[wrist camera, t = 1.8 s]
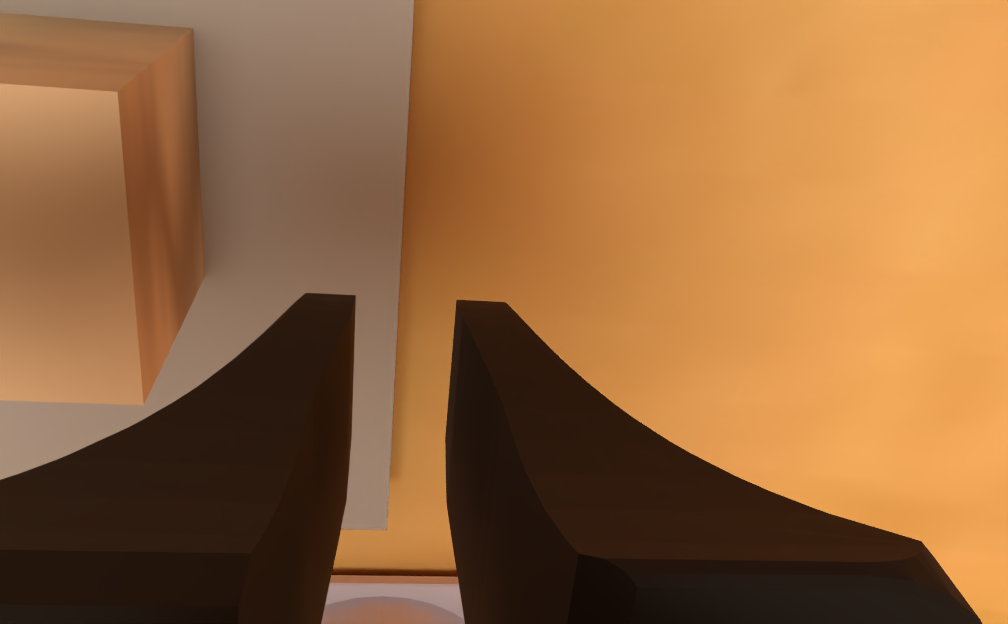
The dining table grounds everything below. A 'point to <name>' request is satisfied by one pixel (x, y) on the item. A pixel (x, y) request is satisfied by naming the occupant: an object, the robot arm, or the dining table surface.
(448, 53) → the dining table surface
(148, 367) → the block
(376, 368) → the trap board
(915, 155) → the dining table surface
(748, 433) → the dining table surface
